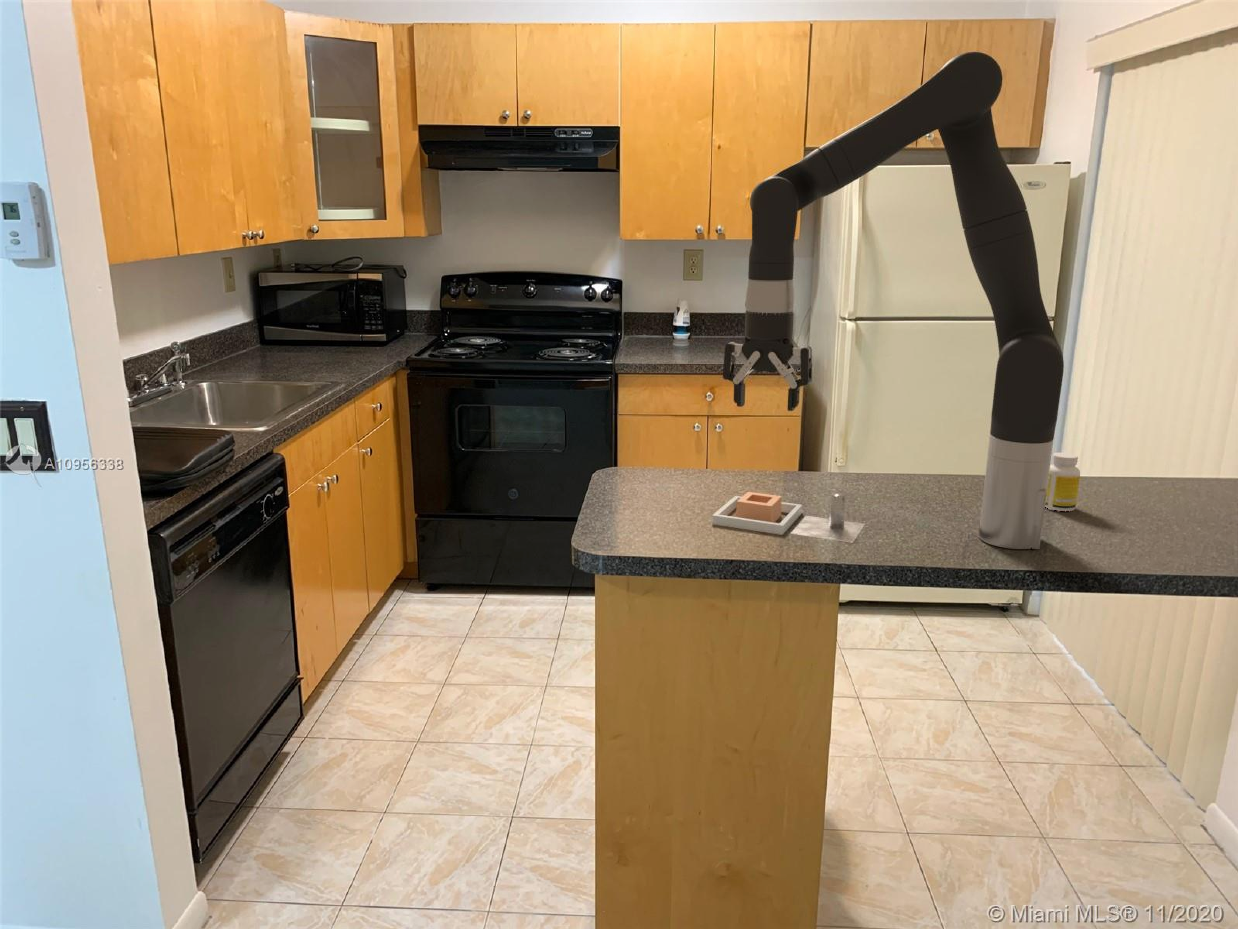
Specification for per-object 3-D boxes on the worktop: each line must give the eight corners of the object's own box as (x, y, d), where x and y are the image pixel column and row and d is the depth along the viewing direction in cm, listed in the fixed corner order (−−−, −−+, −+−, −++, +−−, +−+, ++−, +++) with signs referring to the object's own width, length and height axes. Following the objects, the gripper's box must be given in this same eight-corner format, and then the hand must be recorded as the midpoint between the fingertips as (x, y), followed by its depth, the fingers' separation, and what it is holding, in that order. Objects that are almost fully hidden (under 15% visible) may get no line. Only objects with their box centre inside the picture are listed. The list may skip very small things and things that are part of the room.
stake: (864, 529, 154) (867, 492, 152) (852, 548, 145) (855, 509, 143) (805, 521, 158) (807, 484, 156) (790, 539, 149) (792, 501, 148)
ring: (780, 518, 158) (781, 496, 157) (770, 529, 152) (771, 506, 151) (746, 513, 160) (747, 491, 159) (735, 523, 155) (736, 501, 154)
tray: (801, 518, 159) (802, 504, 159) (782, 540, 149) (783, 525, 148) (735, 509, 164) (735, 495, 164) (712, 529, 154) (712, 515, 153)
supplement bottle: (1081, 509, 164) (1089, 456, 162) (1062, 514, 162) (1069, 460, 159) (1054, 501, 169) (1061, 449, 166) (1035, 506, 166) (1042, 453, 164)
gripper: (819, 307, 147) (814, 407, 152) (734, 304, 153) (731, 400, 157) (807, 312, 141) (802, 416, 145) (719, 308, 147) (716, 408, 151)
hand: (765, 408), depth 151 cm, fingers open, 8 cm apart
